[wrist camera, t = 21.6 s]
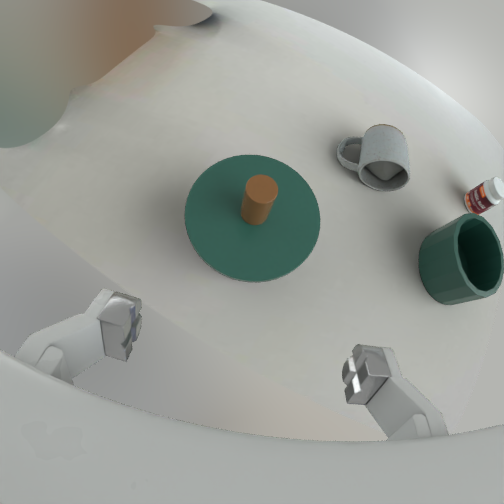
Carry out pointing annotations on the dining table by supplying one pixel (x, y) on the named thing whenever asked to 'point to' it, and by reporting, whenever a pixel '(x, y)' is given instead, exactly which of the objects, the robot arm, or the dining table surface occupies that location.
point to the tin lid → (252, 218)
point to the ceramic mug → (380, 158)
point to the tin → (462, 261)
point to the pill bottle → (484, 196)
